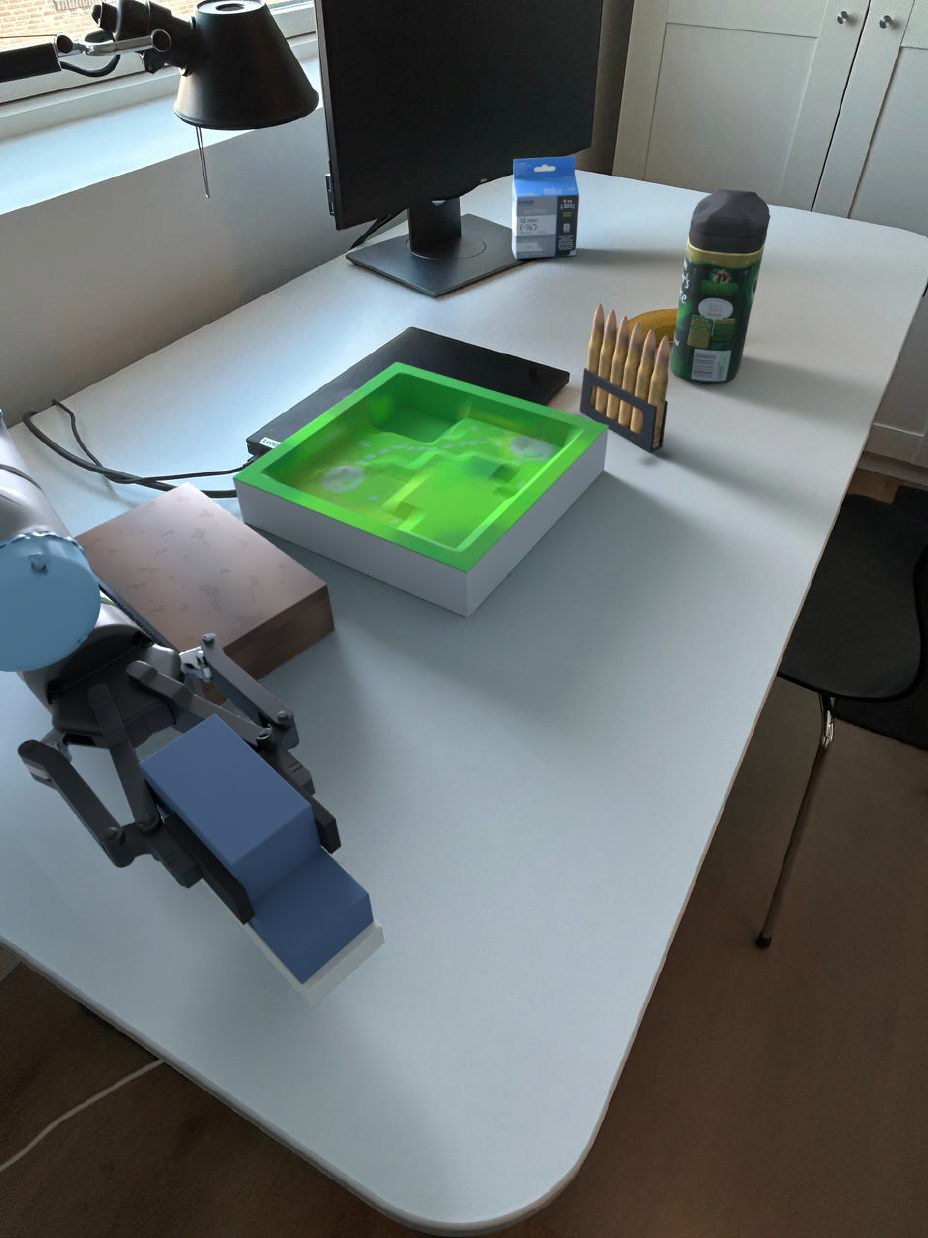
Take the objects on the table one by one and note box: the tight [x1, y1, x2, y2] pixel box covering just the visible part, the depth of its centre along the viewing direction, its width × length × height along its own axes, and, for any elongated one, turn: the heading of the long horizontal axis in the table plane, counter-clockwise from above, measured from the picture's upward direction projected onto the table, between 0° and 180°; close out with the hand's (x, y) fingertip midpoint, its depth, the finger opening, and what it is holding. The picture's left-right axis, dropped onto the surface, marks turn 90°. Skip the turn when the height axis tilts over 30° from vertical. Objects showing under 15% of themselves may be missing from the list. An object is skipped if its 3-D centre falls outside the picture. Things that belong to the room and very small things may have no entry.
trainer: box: [138, 714, 386, 1009], centre depth 49 cm, size 5×14×9 cm, turn 45°
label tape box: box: [511, 155, 580, 260], centre depth 123 cm, size 9×4×12 cm, turn 95°
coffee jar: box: [670, 188, 771, 386], centre depth 95 cm, size 10×8×19 cm
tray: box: [232, 361, 609, 619], centre depth 83 cm, size 25×25×5 cm
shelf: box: [73, 481, 336, 707], centre depth 72 cm, size 12×20×5 cm, turn 45°
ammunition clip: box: [579, 303, 671, 454], centre depth 88 cm, size 11×2×12 cm, turn 37°
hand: (289, 870), depth 46 cm, fingers closed on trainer, 5 cm apart
